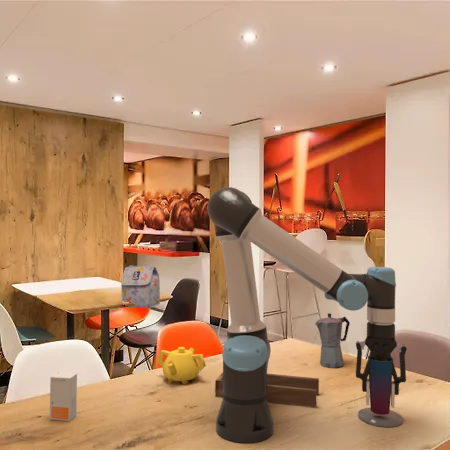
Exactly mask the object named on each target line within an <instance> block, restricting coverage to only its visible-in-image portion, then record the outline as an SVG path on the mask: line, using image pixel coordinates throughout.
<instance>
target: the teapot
mask: <svg viewBox="0 0 450 450" xmlns="http://www.w3.org/2000/svg"><path fill="white" fill-rule="evenodd" d="M195 351H196V349H195V348H193V347H189V349H186V347H184V346H179V347H177V349H174V350H171V351H169V350H165V349H161V350H160V352H159V355H158V358H157V364H159V366H160V367H161V368H162V373H163V375H164V376H165V377H166V378H167V382H168V383H174V382H175V381H176V382H181V384H182V385H188V384H189V381H191V380H194V379H196V377H197V376H198V375H199V374H200V372H201V371H202V370H204V369H205V367H207V365H206V361H205V359H204V354H202V353H199V354H197V353H196V354H195ZM165 357H166V358H165Z"/></svg>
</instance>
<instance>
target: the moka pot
mask: <svg viewBox="0 0 450 450" xmlns="http://www.w3.org/2000/svg"><path fill="white" fill-rule="evenodd" d="M344 322H345V323H346V324H345V331H344V335H343V338H342V333H343V331H342V330H343V328H342V327H343V323H344ZM314 325H315V326H316V328H317V330H318V332H319V337H320V342H321V347H320V358H319V359H320V361H319V363H320V366H322V367H324V368H330V369H332V368H333V369H334V368H336V369H337V368H341V367H343V366H344V364H345V363H344V358H343V351H342V347H341V342H345V341H346V340H347V336H348V331H349V327H350V325H351V323H350V321H349V319H348V318H347V317H346V316H342V317H338V318H335V317H332V313H330V312H329V313H327V317H325V318H320V319H317V321H316V322H315V323H314Z"/></svg>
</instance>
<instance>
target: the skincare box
mask: <svg viewBox="0 0 450 450" xmlns="http://www.w3.org/2000/svg"><path fill="white" fill-rule="evenodd" d="M49 385H50V386H49V387H50V390H49V391H50V392H49V420H53V421H64V422H71V421H72V420H73V419H74V418H75V417H76V416H77V403H78V402H77V401H78V400H77V396H78V395H77V394H78V389H77V387H78V373H76V372H75V373H73V372H58V371H57V372H56V373H55V374H52V375H51V376H50V382H49Z"/></svg>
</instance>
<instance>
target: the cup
mask: <svg viewBox="0 0 450 450" xmlns="http://www.w3.org/2000/svg"><path fill="white" fill-rule="evenodd" d="M368 360H369V368H370V372H369V375H368V379H369V405H370V407H371V411H372V412H373V413H375V414H380V415H386V414H389V411H390V410H391V409H390V408H391V384H392V381H393V376H392V364H394V358H393V357H392V360H391V361H388V360H387V357H384V356H375V358H374V360H372V359H370V358H369V355H368V356H367V361H368ZM370 407H369V408H370Z"/></svg>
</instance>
